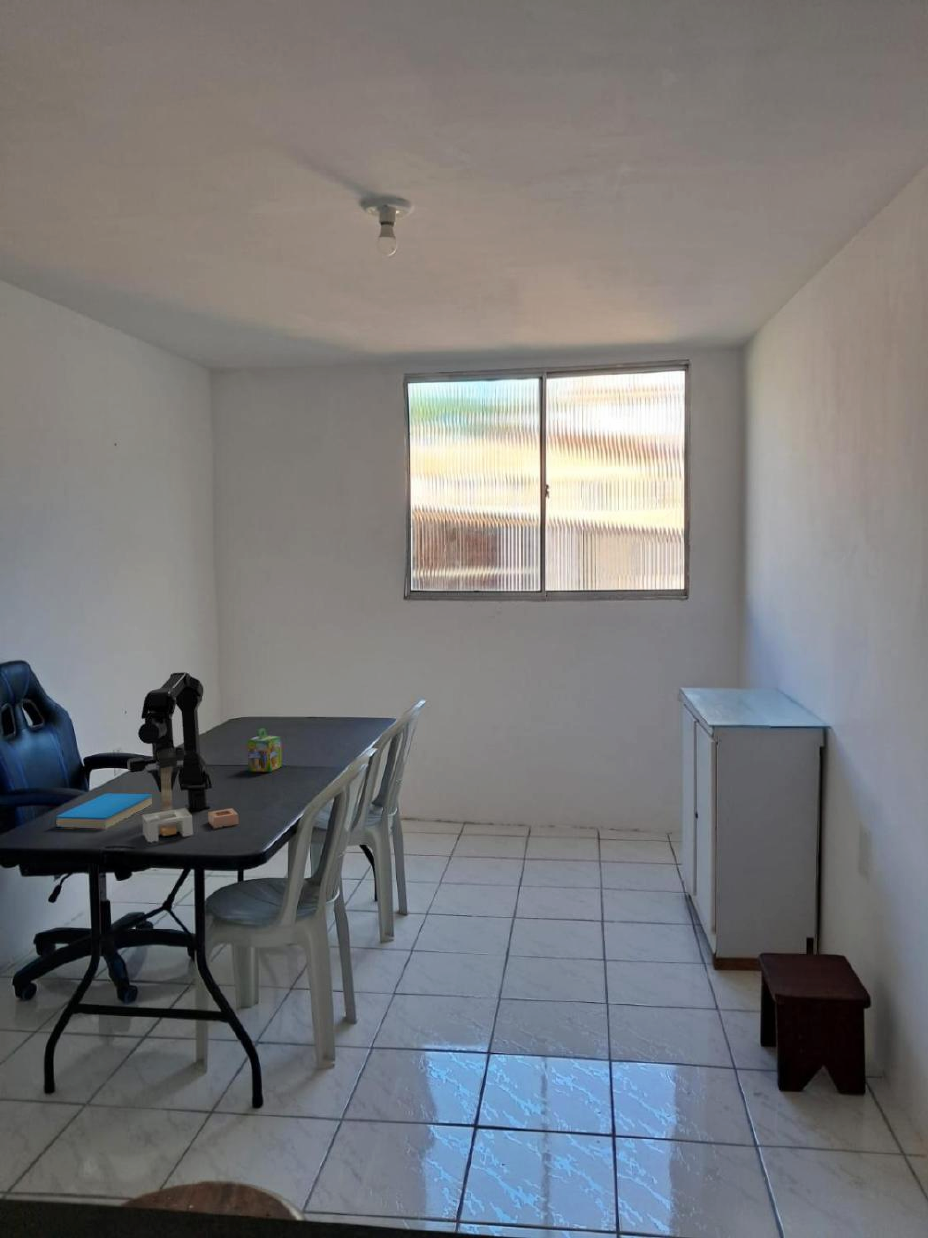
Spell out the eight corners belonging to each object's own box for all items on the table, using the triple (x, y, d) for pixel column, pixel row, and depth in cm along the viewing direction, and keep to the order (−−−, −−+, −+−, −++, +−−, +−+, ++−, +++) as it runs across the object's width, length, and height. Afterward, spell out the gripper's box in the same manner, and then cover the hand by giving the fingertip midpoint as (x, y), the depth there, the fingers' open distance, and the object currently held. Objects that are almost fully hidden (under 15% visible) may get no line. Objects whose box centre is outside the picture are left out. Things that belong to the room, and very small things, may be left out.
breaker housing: (143, 834, 258) (141, 815, 258) (186, 827, 264) (185, 808, 263) (148, 843, 250) (147, 823, 249) (193, 835, 255) (192, 816, 255)
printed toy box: (270, 773, 325) (267, 732, 324) (247, 771, 328) (245, 731, 327) (283, 766, 334) (281, 726, 332) (261, 765, 337) (259, 726, 335)
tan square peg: (161, 808, 256) (158, 766, 255) (170, 807, 257) (168, 765, 256) (163, 811, 254) (160, 768, 253) (172, 809, 255) (170, 767, 254)
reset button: (160, 832, 257) (160, 827, 257) (173, 830, 258) (173, 825, 258) (163, 836, 254) (162, 830, 253) (176, 833, 255) (176, 828, 255)
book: (152, 794, 288) (106, 816, 264) (153, 807, 289) (107, 831, 264) (103, 793, 292) (54, 815, 267) (104, 806, 292) (55, 829, 268)
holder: (208, 822, 268) (208, 812, 267) (232, 818, 271) (231, 808, 271) (214, 828, 261) (213, 818, 261) (238, 824, 265) (237, 814, 264)
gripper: (131, 745, 242) (135, 803, 243) (202, 736, 251) (206, 792, 252) (125, 738, 252) (129, 794, 253) (194, 730, 261) (197, 784, 262)
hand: (165, 791), depth 255 cm, fingers closed on tan square peg, 3 cm apart
